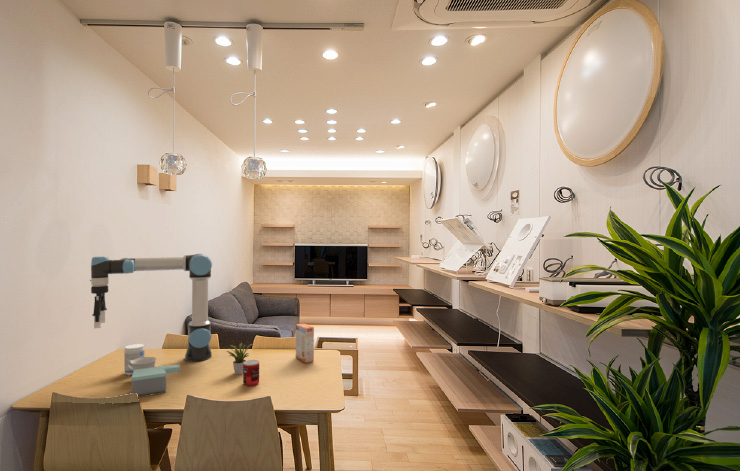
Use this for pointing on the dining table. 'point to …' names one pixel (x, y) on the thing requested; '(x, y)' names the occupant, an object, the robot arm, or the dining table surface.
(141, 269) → the robot arm
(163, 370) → the lid
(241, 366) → the house plant
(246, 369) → the canned food
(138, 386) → the tub
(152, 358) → the teacup
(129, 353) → the supplement tub
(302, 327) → the cracker box
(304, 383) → the dining table surface
